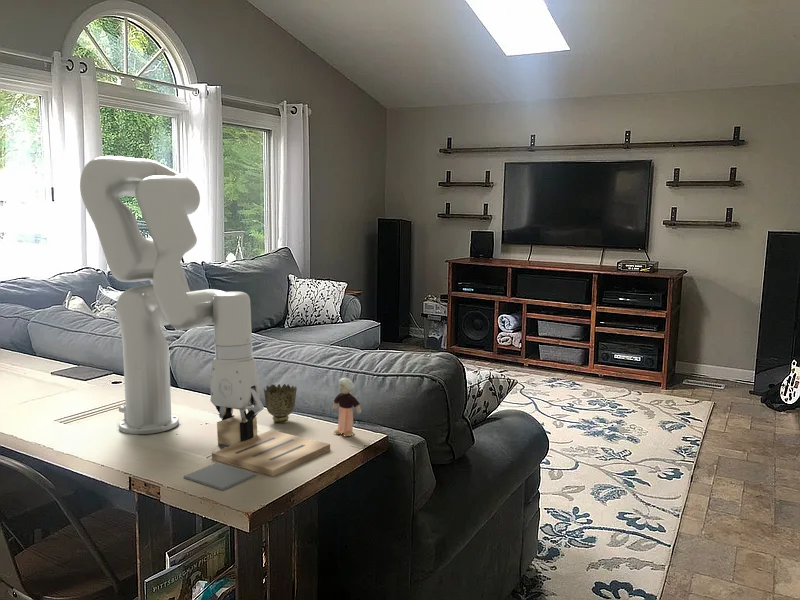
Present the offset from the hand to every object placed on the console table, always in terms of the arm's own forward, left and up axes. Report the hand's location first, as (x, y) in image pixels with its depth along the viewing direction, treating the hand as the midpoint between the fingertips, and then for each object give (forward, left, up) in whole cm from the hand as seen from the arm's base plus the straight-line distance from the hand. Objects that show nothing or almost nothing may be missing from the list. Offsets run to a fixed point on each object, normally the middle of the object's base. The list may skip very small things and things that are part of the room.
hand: (238, 436), depth 146 cm
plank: (+11, -1, -1) cm, 11 cm away
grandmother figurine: (+16, +17, -2) cm, 23 cm away
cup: (-2, +16, -2) cm, 16 cm away
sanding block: (0, 0, -1) cm, 1 cm away
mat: (+11, -15, -1) cm, 18 cm away
